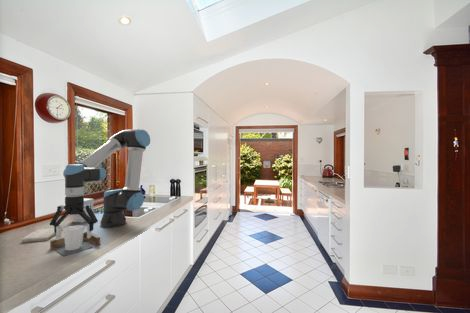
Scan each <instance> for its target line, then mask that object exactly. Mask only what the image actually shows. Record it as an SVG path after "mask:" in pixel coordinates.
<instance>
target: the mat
mask: <svg viewBox="0 0 470 313" xmlns="http://www.w3.org/2000/svg"><path fill="white" fill-rule="evenodd" d="M92 248H93V246H92V245H91V244H89V243H88V242H86V241H85V240H84V241H83V242H82V247H81V248H79V249H76V250H71V251H68V250H65V246H62V247H58V248H55V249H54V251H56V252H58V254H60V255H61V256H62V257H66V256H69V255H73V254H75V253H79V252H83V251H85V250H89V249H92Z"/></svg>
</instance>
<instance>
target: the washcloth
mask: <svg viewBox="0 0 470 313" xmlns="http://www.w3.org/2000/svg"><path fill="white" fill-rule="evenodd" d="M62 231H63V227H62V226H61V232H62ZM53 237H56V233H55V232H54V227H53V228H52V227H46V228H45V227H44V228H39V229H38V230H34V231H32V232H30V233H29V234H27V235H26V236H24V237H23V238H22V239H21V241H20V242H21V244H22V243H24V244H25V243H34V242H47V241H50V240H51V239H53Z"/></svg>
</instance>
